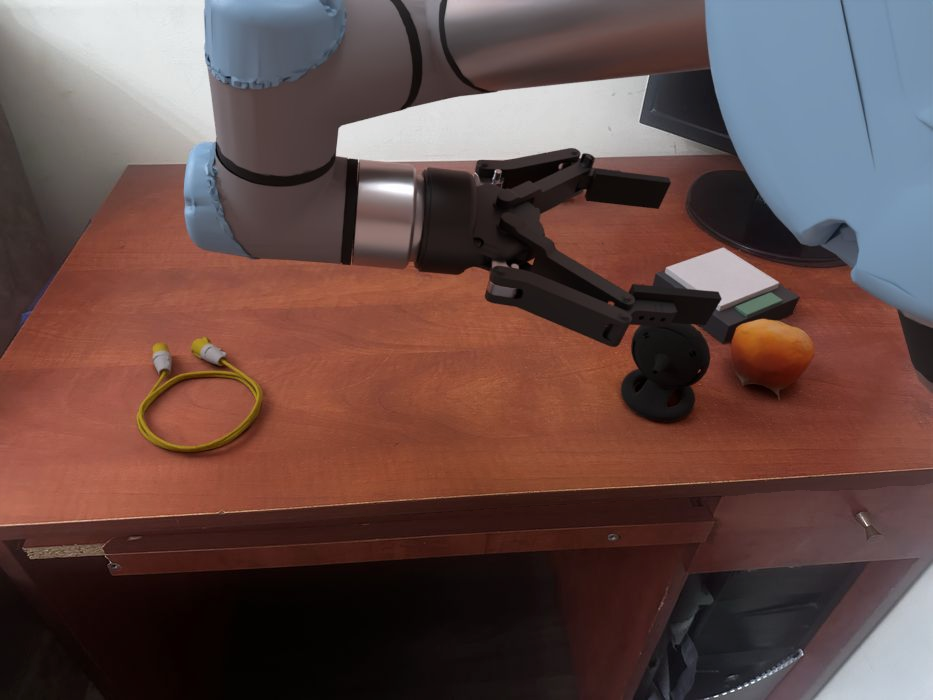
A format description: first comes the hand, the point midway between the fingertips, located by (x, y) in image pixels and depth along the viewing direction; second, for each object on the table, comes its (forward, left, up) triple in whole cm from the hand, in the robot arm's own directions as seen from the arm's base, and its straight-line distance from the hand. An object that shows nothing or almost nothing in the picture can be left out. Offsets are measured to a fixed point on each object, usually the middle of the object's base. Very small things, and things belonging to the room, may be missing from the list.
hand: (686, 246), depth 55 cm
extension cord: (+25, +35, -22) cm, 48 cm away
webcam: (+3, -6, -22) cm, 23 cm away
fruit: (0, -18, -22) cm, 28 cm away
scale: (+12, -25, -22) cm, 35 cm away
